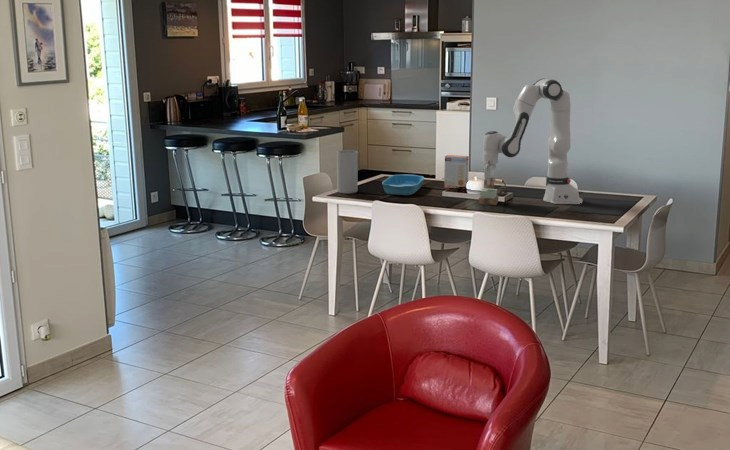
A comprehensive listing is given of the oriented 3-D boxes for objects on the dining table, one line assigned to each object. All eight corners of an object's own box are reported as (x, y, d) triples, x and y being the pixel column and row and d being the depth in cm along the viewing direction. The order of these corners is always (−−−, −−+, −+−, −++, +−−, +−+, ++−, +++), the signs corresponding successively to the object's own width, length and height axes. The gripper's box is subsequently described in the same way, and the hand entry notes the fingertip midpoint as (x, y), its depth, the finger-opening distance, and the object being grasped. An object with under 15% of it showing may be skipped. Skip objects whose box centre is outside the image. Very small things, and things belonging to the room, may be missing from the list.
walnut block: (498, 202, 468) (498, 195, 467) (496, 205, 459) (496, 199, 458) (481, 201, 470) (481, 194, 470) (478, 204, 461) (478, 198, 460)
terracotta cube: (493, 186, 463) (494, 178, 462) (492, 188, 459) (493, 179, 457) (485, 186, 465) (485, 177, 463) (484, 187, 460) (484, 179, 459)
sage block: (496, 195, 466) (497, 189, 465) (494, 198, 458) (494, 191, 457) (483, 194, 468) (483, 188, 467) (480, 197, 461) (480, 190, 460)
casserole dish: (414, 197, 478) (414, 186, 476) (378, 195, 484) (378, 184, 483) (427, 186, 512) (427, 175, 511) (393, 184, 519) (393, 173, 517)
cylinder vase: (360, 193, 490) (360, 152, 484) (340, 194, 486) (340, 153, 480) (353, 189, 502) (353, 149, 495) (334, 190, 498) (334, 150, 491)
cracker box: (468, 188, 503) (469, 155, 498) (465, 190, 498) (466, 157, 493) (446, 186, 509) (447, 154, 504) (443, 188, 503) (444, 155, 498)
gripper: (493, 163, 447) (492, 187, 451) (497, 157, 466) (496, 180, 470) (482, 162, 449) (481, 186, 452) (487, 156, 468) (486, 180, 471)
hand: (489, 183), depth 461 cm, fingers closed on terracotta cube, 5 cm apart
